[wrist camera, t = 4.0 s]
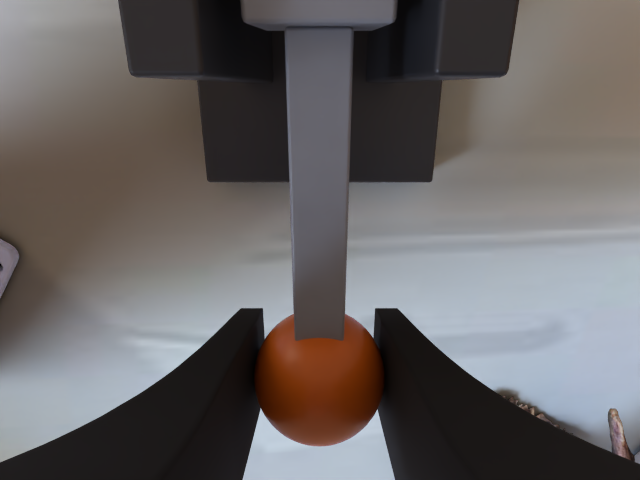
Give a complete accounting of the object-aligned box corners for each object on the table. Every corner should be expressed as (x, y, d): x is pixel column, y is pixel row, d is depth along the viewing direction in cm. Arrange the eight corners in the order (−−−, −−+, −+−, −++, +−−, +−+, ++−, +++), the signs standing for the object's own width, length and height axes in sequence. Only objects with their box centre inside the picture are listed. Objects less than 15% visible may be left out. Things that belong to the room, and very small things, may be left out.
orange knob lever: (372, 375, 12) (389, 477, 9) (266, 375, 12) (249, 477, 9) (411, -150, 7) (474, -289, 4) (227, -150, 7) (162, -289, 4)
